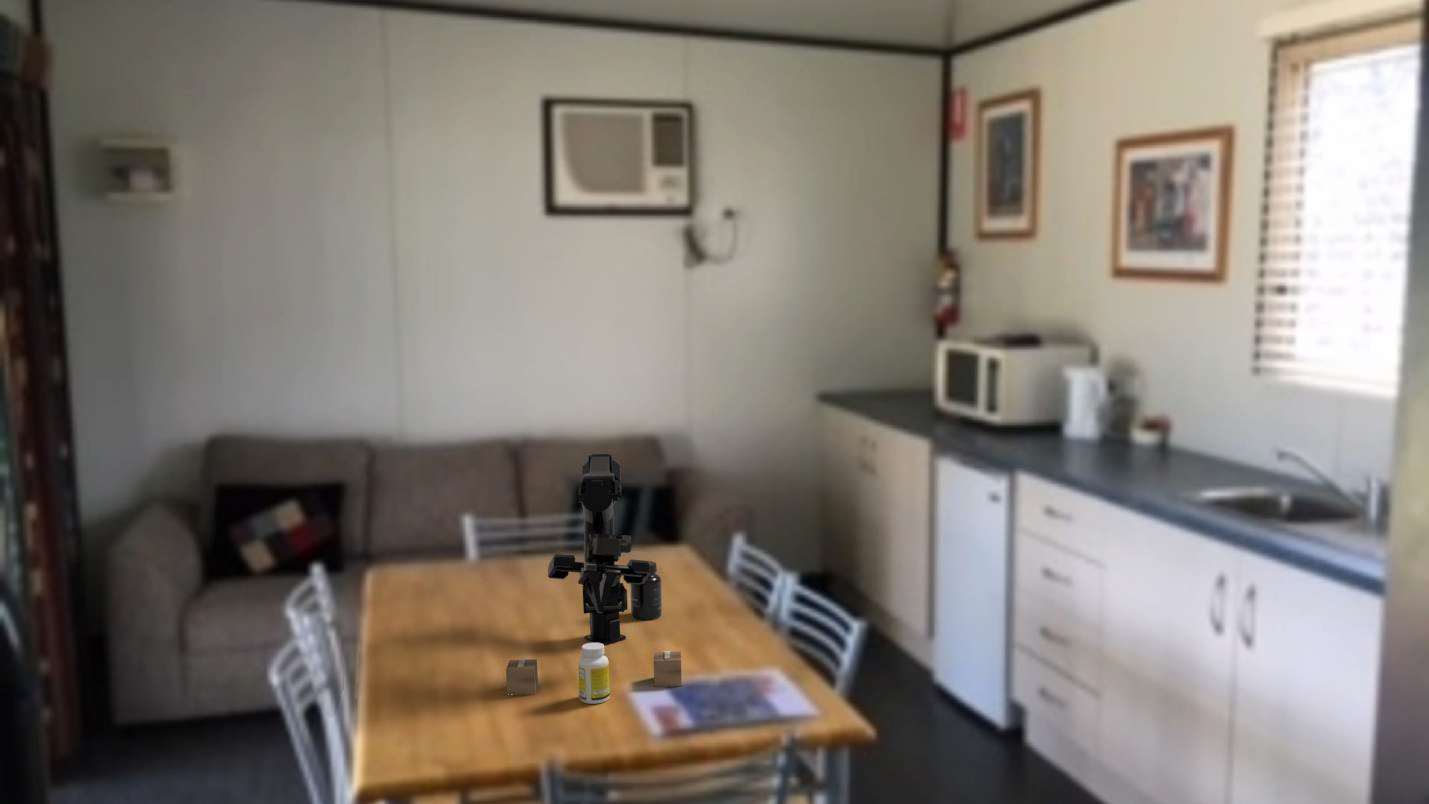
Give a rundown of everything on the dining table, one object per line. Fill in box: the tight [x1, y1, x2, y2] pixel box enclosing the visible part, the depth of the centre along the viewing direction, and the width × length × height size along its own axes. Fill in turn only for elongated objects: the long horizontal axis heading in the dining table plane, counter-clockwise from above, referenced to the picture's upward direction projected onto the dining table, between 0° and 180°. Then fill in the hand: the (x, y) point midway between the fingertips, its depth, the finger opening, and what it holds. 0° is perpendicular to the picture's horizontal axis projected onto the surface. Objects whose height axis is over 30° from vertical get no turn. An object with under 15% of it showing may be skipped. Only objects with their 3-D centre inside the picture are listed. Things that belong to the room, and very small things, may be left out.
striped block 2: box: [653, 650, 683, 688], centre depth 213 cm, size 5×5×5 cm
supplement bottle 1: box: [577, 642, 611, 705], centre depth 205 cm, size 5×5×10 cm
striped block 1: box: [505, 658, 539, 696], centre depth 210 cm, size 5×5×5 cm
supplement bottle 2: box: [629, 560, 663, 621], centre depth 254 cm, size 7×7×12 cm
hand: (600, 612), depth 213 cm, fingers closed
